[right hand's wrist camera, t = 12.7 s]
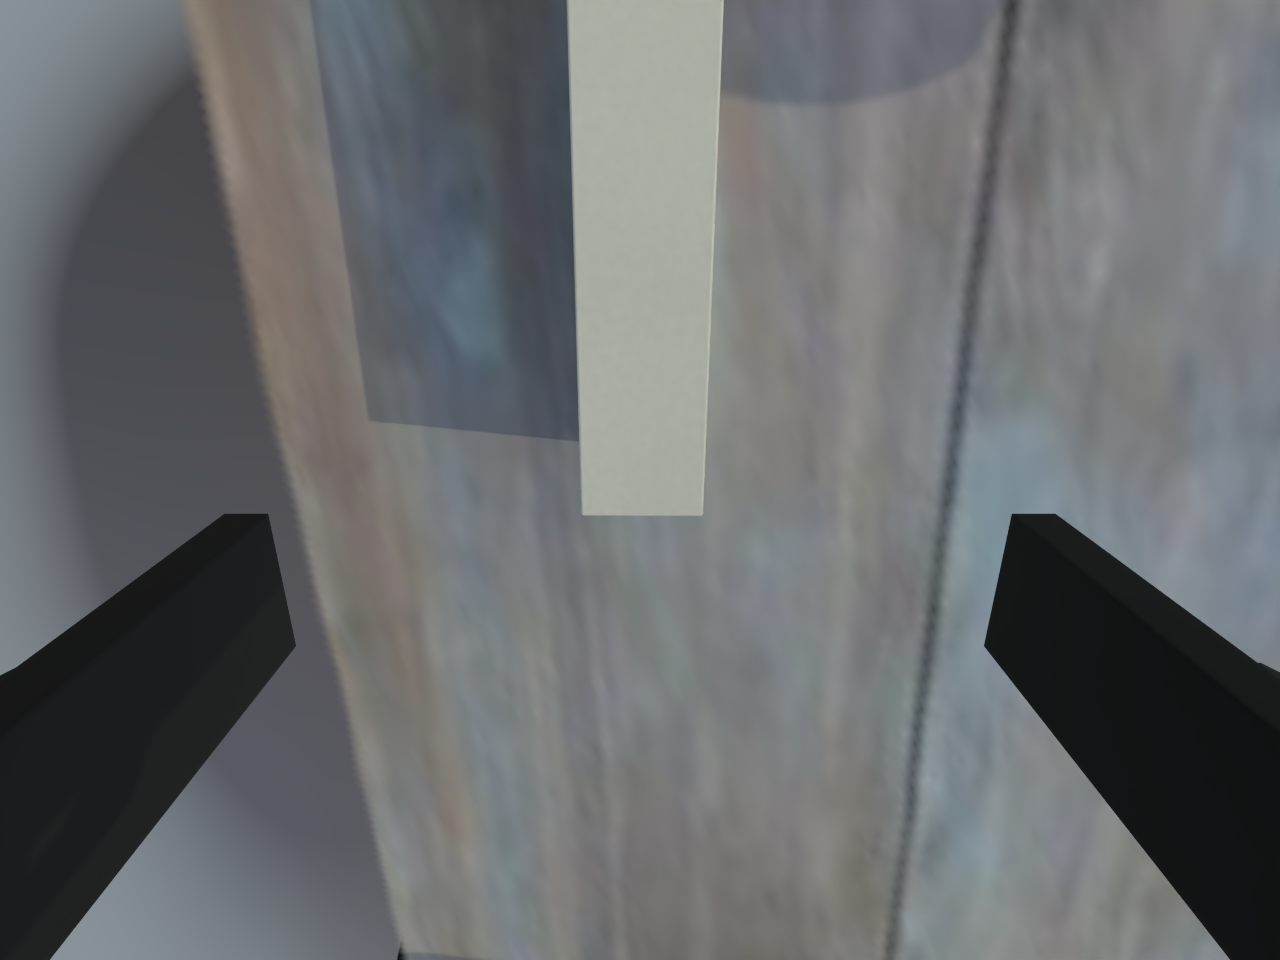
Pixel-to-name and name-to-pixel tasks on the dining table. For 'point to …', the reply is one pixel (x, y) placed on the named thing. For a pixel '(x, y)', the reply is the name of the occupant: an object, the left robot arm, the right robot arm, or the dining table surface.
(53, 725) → the right robot arm
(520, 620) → the dining table surface
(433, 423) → the dining table surface
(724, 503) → the dining table surface
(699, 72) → the bar
